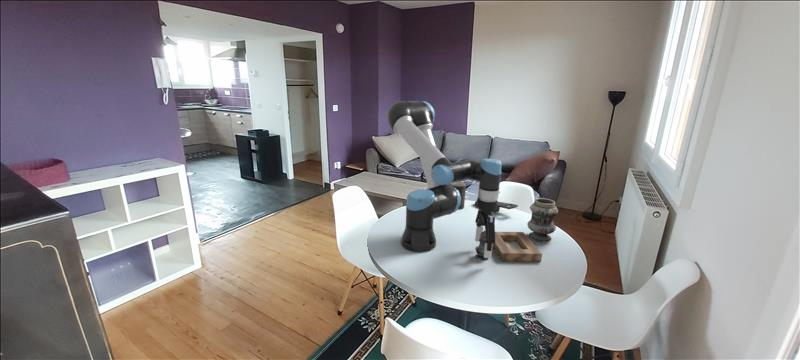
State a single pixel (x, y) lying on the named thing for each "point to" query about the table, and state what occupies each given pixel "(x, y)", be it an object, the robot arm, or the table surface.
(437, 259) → the table surface
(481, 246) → the stone chess piece
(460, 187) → the pillar candle
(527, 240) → the block
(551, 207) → the apothecary jar
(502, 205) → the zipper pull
